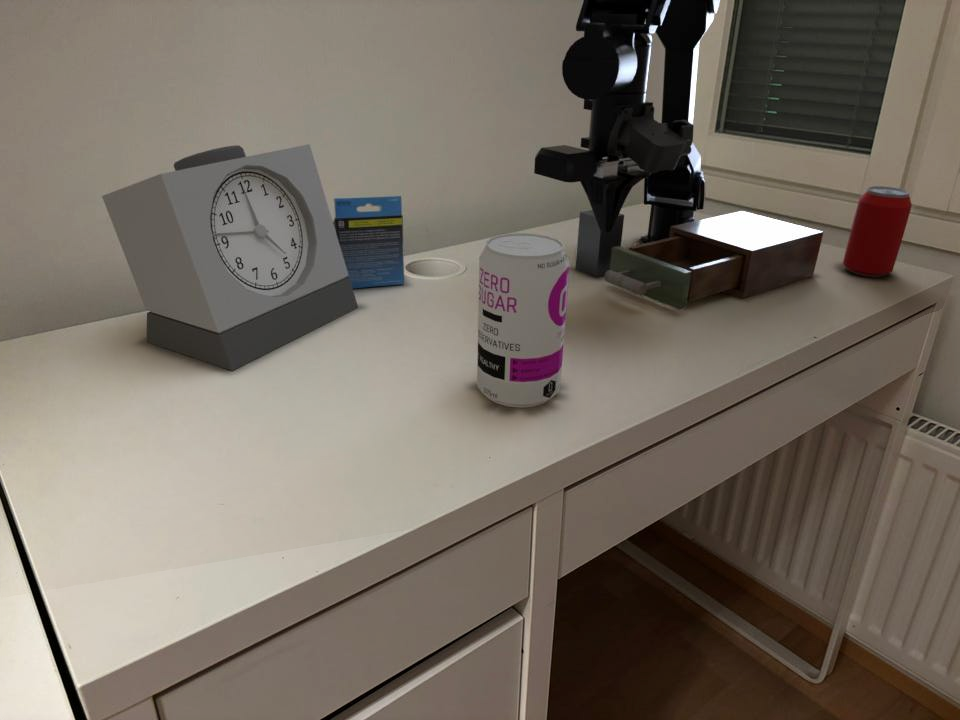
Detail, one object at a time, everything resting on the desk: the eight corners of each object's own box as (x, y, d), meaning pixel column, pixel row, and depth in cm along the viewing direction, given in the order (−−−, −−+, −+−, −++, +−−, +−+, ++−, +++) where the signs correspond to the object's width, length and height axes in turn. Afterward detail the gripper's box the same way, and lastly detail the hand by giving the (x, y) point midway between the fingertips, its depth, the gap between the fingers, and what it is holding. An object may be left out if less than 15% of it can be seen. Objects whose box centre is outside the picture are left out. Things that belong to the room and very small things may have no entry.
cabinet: (742, 298, 94) (752, 250, 91) (664, 270, 104) (670, 226, 101) (813, 275, 103) (823, 231, 100) (734, 251, 112) (742, 210, 109)
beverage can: (880, 265, 108) (902, 186, 102) (899, 280, 102) (924, 197, 96) (834, 263, 108) (854, 184, 103) (850, 277, 102) (872, 194, 97)
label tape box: (400, 276, 99) (397, 188, 94) (405, 286, 96) (402, 195, 90) (336, 280, 97) (329, 191, 92) (339, 291, 94) (332, 198, 88)
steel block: (575, 269, 103) (579, 212, 99) (596, 264, 106) (602, 207, 102) (596, 277, 100) (601, 219, 96) (618, 272, 102) (624, 214, 99)
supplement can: (567, 378, 72) (578, 236, 66) (547, 417, 65) (558, 263, 59) (492, 366, 75) (496, 227, 68) (465, 402, 68) (466, 251, 61)
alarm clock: (232, 370, 73) (201, 171, 64) (132, 337, 80) (92, 152, 70) (358, 307, 89) (347, 140, 80) (266, 284, 96) (247, 128, 86)
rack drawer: (655, 317, 85) (661, 279, 83) (585, 287, 94) (588, 252, 92) (755, 286, 96) (762, 252, 93) (683, 261, 105) (688, 229, 102)
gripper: (610, 104, 66) (595, 264, 73) (735, 94, 76) (711, 235, 83) (534, 92, 74) (527, 237, 81) (656, 84, 84) (640, 214, 91)
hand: (605, 231), depth 83 cm, fingers closed
